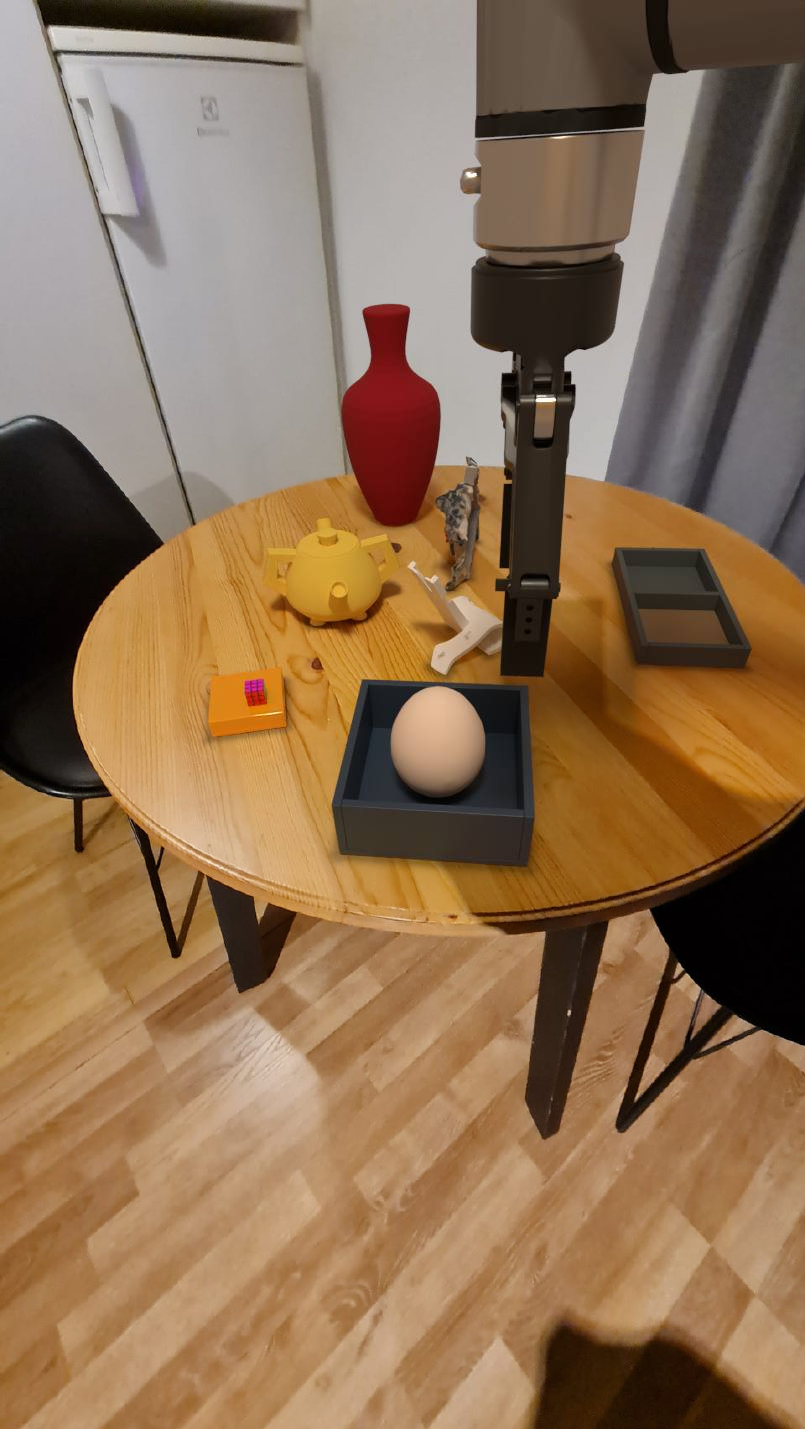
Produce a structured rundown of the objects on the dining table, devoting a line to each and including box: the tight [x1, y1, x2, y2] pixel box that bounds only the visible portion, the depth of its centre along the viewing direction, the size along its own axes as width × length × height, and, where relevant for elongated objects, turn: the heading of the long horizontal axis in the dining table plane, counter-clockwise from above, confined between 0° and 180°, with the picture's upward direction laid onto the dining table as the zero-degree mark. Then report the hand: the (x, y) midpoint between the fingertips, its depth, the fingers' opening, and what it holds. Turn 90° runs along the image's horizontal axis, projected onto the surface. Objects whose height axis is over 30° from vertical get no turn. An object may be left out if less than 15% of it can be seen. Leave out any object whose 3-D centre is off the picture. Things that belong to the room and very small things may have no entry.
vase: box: [340, 303, 442, 527], centre depth 98 cm, size 15×15×30 cm
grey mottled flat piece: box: [434, 456, 482, 591], centre depth 91 cm, size 15×4×13 cm, turn 168°
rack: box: [611, 546, 753, 669], centre depth 84 cm, size 12×23×3 cm, turn 174°
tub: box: [330, 678, 536, 868], centre depth 62 cm, size 17×17×7 cm
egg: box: [391, 686, 485, 798], centre depth 59 cm, size 9×9×11 cm
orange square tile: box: [207, 666, 288, 738], centre depth 72 cm, size 8×8×4 cm
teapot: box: [262, 517, 401, 627], centre depth 85 cm, size 20×18×11 cm
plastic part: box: [406, 560, 503, 676], centre depth 77 cm, size 8×10×12 cm
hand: (518, 614), depth 47 cm, fingers open, 13 cm apart
